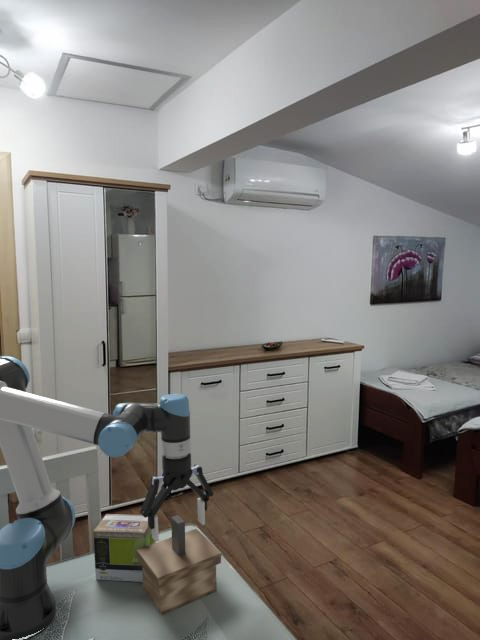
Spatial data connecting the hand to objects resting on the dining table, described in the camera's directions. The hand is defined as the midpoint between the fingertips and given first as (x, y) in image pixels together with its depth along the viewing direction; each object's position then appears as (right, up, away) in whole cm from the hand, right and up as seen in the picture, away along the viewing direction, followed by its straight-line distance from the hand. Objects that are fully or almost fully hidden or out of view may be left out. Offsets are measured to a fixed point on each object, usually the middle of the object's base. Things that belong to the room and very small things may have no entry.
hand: (179, 530), depth 126 cm
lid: (0, -9, +1) cm, 9 cm away
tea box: (-16, -16, +10) cm, 25 cm away
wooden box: (0, -17, +2) cm, 17 cm away
